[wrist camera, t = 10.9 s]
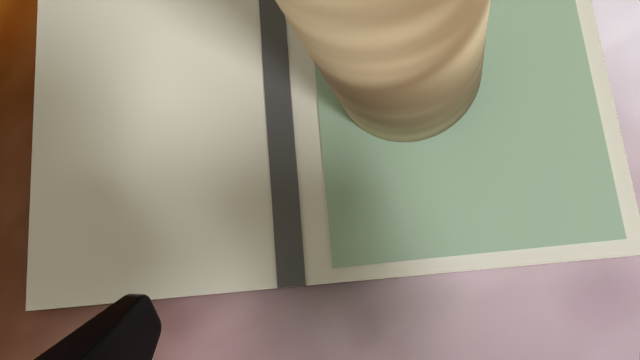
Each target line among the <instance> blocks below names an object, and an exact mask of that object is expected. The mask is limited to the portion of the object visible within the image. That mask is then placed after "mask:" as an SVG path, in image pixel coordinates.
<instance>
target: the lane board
mask: <svg viewBox="0 0 640 360" xmlns="http://www.w3.org/2000/svg"><path fill="white" fill-rule="evenodd" d="M638 255H640V216H639V211H638V207H637V202H636V198H635V193H634V189H633V184H632V180H631V176H630V171H629V167H628V162H627V158H626V153H625V149H624V144H623V140H622V135H621V131H620V126H619V122H618V117H617V113H616V108H615V104H614V99H613V95H612V91H611V86H610V82H609V77H608V73H607V68H606V64H605V59H604V55H603V50H602V46H601V41H600V37H599V32H598V28H597V23H596V19H595V15H594V10H593V6H592V1H591V0H490V8H489V16H488V25H487V33H486V42H485V50H484V59H483V67H482V76H481V82H480V87H479V90H478V93H477V95H476V97H475V99H474V101H473V103H472V105H471V106H470V108H469V109H468V111H467V112H466V113H465V114H464V116H463V117H462V118H461V119H460V120H459V121H458V122H457V123H455V124H454V125H453V126H452V127H450V128H449V129H447V130H446V131H444V132H442V133H440V134H438V135H436V136H434V137H431V138H428V139H425V140H421V141H416V142H393V141H387V140H384V139H380V138H377V137H375V136H373V135H371V134H369V133H367V132H366V131H364V130H362V129H361V128H360V127H359V126H358V125H356V124H355V123H354V122H353V120H352V119H351V118H350V117H349V115H348V114H347V113H346V111H345V110H344V108H343V106H342V105H341V103H340V102H339V100H338V99H337V97H336V95H335V94H334V92H333V91H332V89H331V88H330V86H329V84H328V83H327V81H326V80H325V78H324V77H323V75H322V73H321V72H320V70H319V69H318V67H317V66H316V64H315V62H314V61H313V59H312V58H311V56H310V55H309V53H308V51H307V50H306V48H305V47H304V45H303V44H302V42H301V40H300V39H299V37H298V36H297V34H296V33H295V31H294V29H293V28H292V26H291V25H290V23H289V22H288V20H287V18H286V17H285V15H284V14H283V12H282V11H281V9H280V7H279V6H278V4H277V3H276V1H275V0H38V13H37V38H36V63H35V88H34V112H33V137H32V162H31V187H30V212H29V237H28V262H27V287H26V311H34V310H45V309H56V308H67V307H78V306H89V305H100V304H111V303H115V302H116V301H117V300H119V299H120V298H122V297H123V296H125V295H127V294H145V295H147V296H149V298H150V299H151V300H154V299H165V298H176V297H187V296H198V295H209V294H220V293H231V292H242V291H253V290H264V289H275V288H286V287H297V286H308V285H319V284H330V283H341V282H352V281H363V280H374V279H385V278H396V277H407V276H418V275H429V274H440V273H451V272H462V271H473V270H484V269H495V268H506V267H517V266H528V265H539V264H550V263H561V262H572V261H583V260H594V259H605V258H616V257H627V256H638Z"/></svg>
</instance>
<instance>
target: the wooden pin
mask: <svg viewBox="0 0 640 360" xmlns="http://www.w3.org/2000/svg"><path fill="white" fill-rule="evenodd" d="M275 1H276V3H277V4H278V6H279V7H280V9H281V11H282V12H283V14H284V15H285V17H286V18H287V20H288V22H289V23H290V25H291V26H292V28H293V29H294V31H295V33H296V34H297V36H298V37H299V39H300V40H301V42H302V44H303V45H304V47H305V48H306V50H307V51H308V53H309V55H310V56H311V58H312V59H313V61H314V62H315V64H316V66H317V67H318V69H319V70H320V72H321V73H322V75H323V77H324V78H325V80H326V81H327V83H328V84H329V86H330V88H331V89H332V91H333V92H334V94H335V95H336V97H337V99H338V100H339V102H340V103H341V105H342V106H343V108H344V110H345V111H346V113H347V114H348V115H349V117H350V118H351V119H352V120H353V122H354V123H355V124H356V125H358V126H359V127H360V128H361V129H362V130H364V131H366V132H367V133H369V134H371V135H373V136H375V137H377V138H380V139H384V140H387V141H393V142H416V141H421V140H425V139H428V138H431V137H434V136H436V135H438V134H440V133H442V132H444V131H446V130H447V129H449V128H450V127H452V126H453V125H454V124H455V123H457V122H458V121H459V120H460V119H461V118H462V117H463V116H464V114H465V113H466V112H467V111H468V109H469V108H470V106H471V105H472V103H473V101H474V99H475V97H476V95H477V93H478V90H479V87H480V82H481V76H482V67H483V59H484V50H485V42H486V33H487V25H488V16H489V8H490V0H275Z"/></svg>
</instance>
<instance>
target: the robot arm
mask: <svg viewBox="0 0 640 360" xmlns="http://www.w3.org/2000/svg"><path fill="white" fill-rule="evenodd" d="M160 333H161V321H160V318H159V316H158V314H157V312H156V310H155V308H154V306H153V303H152V301H151V299H150V298H149V296H147V295H145V294H127V295H125V296H123V297H122V298H120V299H119V300H117V301H116V302H115V303H113V304H112V305H110V306H109V307H108V308H106V309H105V310H103V311H102V312H101V313H99V314H98V315H96V316H95V317H93V318H92V319H91V320H89V321H88V322H86V323H85V324H84V325H82V326H81V327H79V328H78V329H77V330H75V331H74V332H72V333H71V334H69V335H68V336H67V337H65V338H64V339H62V340H61V341H60V342H58V343H57V344H55V345H54V346H52V347H51V348H50V349H48V350H47V351H45V352H44V353H43V354H41V355H40V356H38V357H37V358H36V359H34V360H152V358H153V355H154V352H155V349H156V346H157V343H158V340H159V337H160Z"/></svg>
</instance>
